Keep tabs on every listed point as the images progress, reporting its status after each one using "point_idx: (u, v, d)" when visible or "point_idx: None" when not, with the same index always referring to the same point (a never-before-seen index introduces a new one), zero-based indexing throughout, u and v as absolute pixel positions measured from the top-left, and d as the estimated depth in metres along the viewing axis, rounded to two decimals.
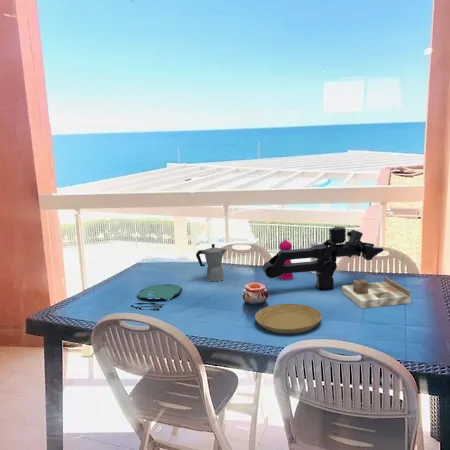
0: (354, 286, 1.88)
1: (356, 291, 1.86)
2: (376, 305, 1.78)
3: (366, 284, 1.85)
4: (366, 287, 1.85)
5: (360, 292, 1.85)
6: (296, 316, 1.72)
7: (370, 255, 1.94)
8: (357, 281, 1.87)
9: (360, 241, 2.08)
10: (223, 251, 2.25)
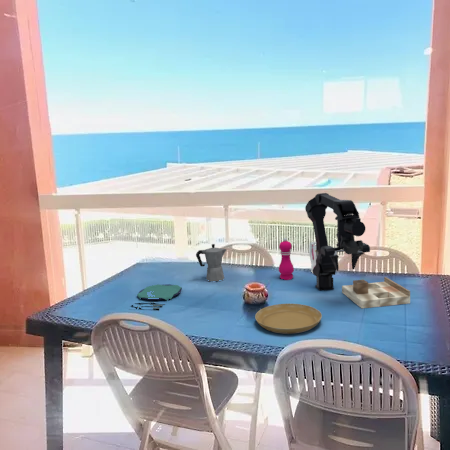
0: (354, 286, 1.88)
1: (356, 291, 1.86)
2: (376, 305, 1.78)
3: (366, 284, 1.85)
4: (366, 287, 1.85)
5: (360, 292, 1.85)
6: (296, 316, 1.72)
7: (322, 252, 1.83)
8: (357, 281, 1.87)
9: (356, 255, 1.82)
10: (223, 251, 2.25)
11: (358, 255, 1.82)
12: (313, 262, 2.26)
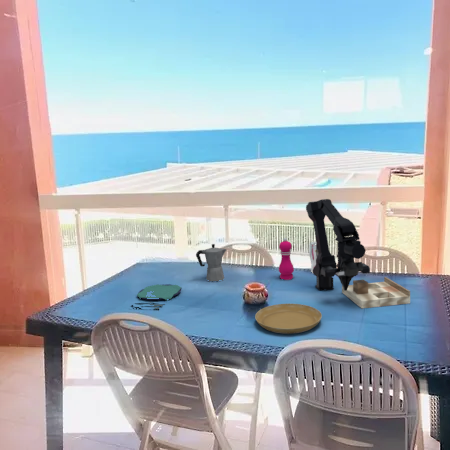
0: (354, 286, 1.88)
1: (356, 291, 1.86)
2: (376, 305, 1.78)
3: (366, 284, 1.85)
4: (366, 287, 1.85)
5: (360, 292, 1.85)
6: (296, 316, 1.72)
7: (322, 272, 1.85)
8: (357, 281, 1.87)
9: (348, 276, 1.83)
10: (223, 251, 2.25)
11: (350, 277, 1.83)
12: (313, 262, 2.26)
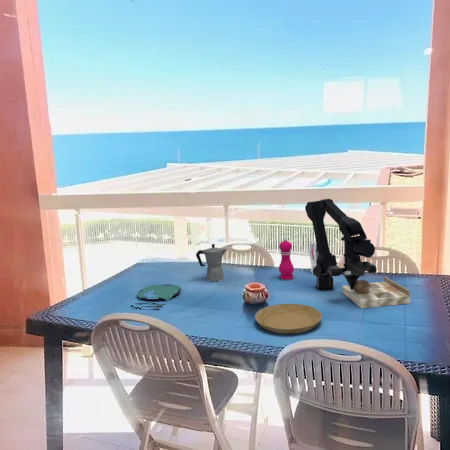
0: (355, 286, 1.88)
1: (357, 291, 1.86)
2: (376, 305, 1.78)
3: (367, 284, 1.85)
4: (367, 287, 1.85)
5: (361, 292, 1.85)
6: (296, 316, 1.72)
7: (328, 272, 1.85)
8: (358, 281, 1.87)
9: (355, 276, 1.83)
10: (223, 251, 2.25)
11: (357, 276, 1.83)
12: (313, 262, 2.26)
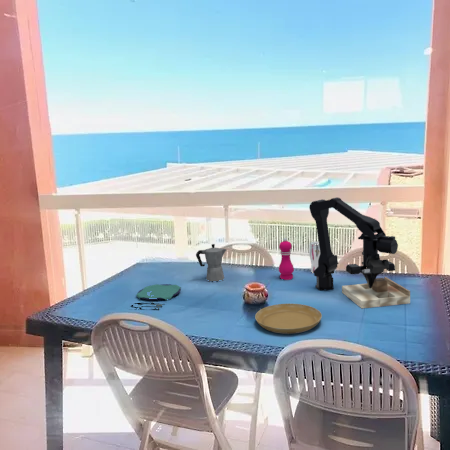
0: (373, 284, 1.89)
1: (375, 289, 1.87)
2: (376, 305, 1.78)
3: (385, 282, 1.85)
4: (386, 285, 1.86)
5: (379, 290, 1.86)
6: (296, 316, 1.72)
7: (347, 270, 1.86)
8: (376, 279, 1.88)
9: (374, 274, 1.84)
10: (223, 251, 2.25)
11: (376, 274, 1.84)
12: (313, 262, 2.26)
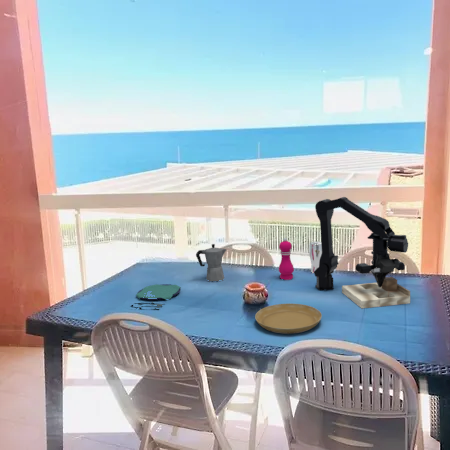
0: None
1: (385, 288, 1.87)
2: (376, 305, 1.78)
3: (395, 281, 1.86)
4: (395, 284, 1.86)
5: (389, 289, 1.86)
6: (296, 316, 1.72)
7: (357, 269, 1.86)
8: (386, 278, 1.88)
9: (383, 273, 1.85)
10: (223, 251, 2.25)
11: (385, 273, 1.85)
12: (313, 262, 2.26)
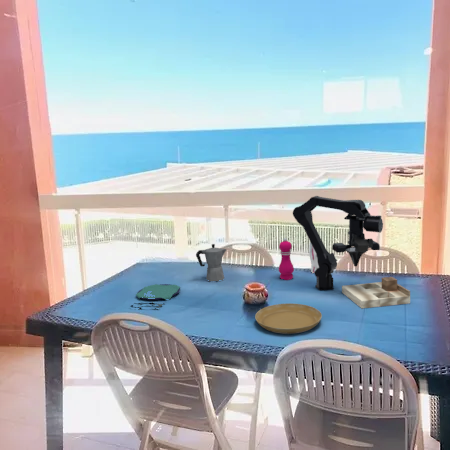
0: (382, 283, 1.89)
1: (385, 288, 1.87)
2: (376, 305, 1.78)
3: (395, 281, 1.86)
4: (395, 284, 1.86)
5: (389, 289, 1.86)
6: (296, 316, 1.72)
7: (333, 248, 1.92)
8: (386, 278, 1.88)
9: (359, 253, 1.91)
10: (223, 251, 2.25)
11: (361, 253, 1.91)
12: (313, 262, 2.26)
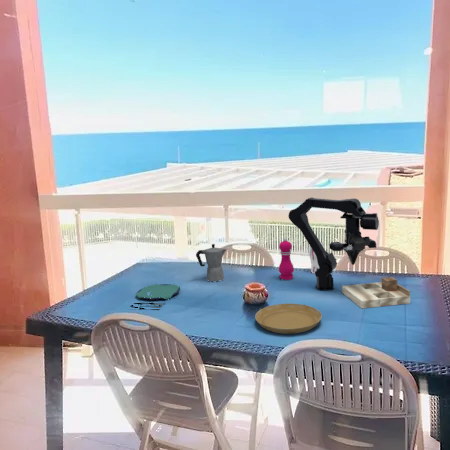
0: (382, 283, 1.89)
1: (385, 288, 1.87)
2: (376, 305, 1.78)
3: (395, 281, 1.86)
4: (395, 284, 1.86)
5: (389, 289, 1.86)
6: (296, 316, 1.72)
7: (330, 247, 1.94)
8: (386, 278, 1.88)
9: (356, 251, 1.92)
10: (223, 251, 2.25)
11: (358, 251, 1.92)
12: (313, 262, 2.26)
